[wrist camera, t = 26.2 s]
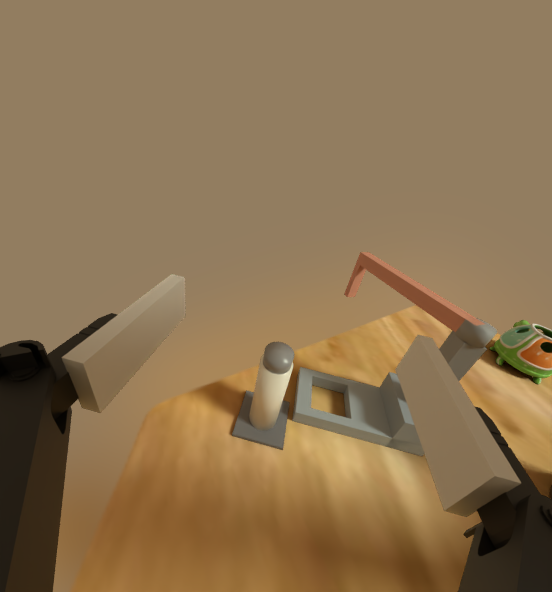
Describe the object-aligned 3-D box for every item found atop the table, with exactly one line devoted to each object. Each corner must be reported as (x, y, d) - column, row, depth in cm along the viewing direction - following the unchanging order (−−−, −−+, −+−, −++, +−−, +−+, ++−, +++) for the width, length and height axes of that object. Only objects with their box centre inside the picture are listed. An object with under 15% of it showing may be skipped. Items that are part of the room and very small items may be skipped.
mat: (288, 403, 43) (289, 402, 43) (282, 449, 36) (283, 448, 36) (246, 392, 43) (246, 390, 43) (232, 435, 37) (232, 434, 36)
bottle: (278, 408, 41) (297, 345, 34) (274, 434, 37) (294, 369, 30) (253, 401, 42) (266, 337, 34) (246, 426, 38) (259, 360, 30)
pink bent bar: (457, 384, 36) (502, 332, 31) (442, 389, 35) (487, 335, 29) (354, 293, 56) (371, 252, 50) (341, 294, 54) (357, 252, 49)
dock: (404, 403, 48) (465, 321, 37) (422, 456, 39) (508, 370, 28) (297, 375, 49) (326, 288, 38) (292, 420, 40) (328, 325, 30)
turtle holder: (529, 352, 72) (559, 322, 66) (551, 393, 58) (593, 359, 52) (482, 334, 77) (506, 303, 71) (492, 367, 63) (524, 333, 57)
